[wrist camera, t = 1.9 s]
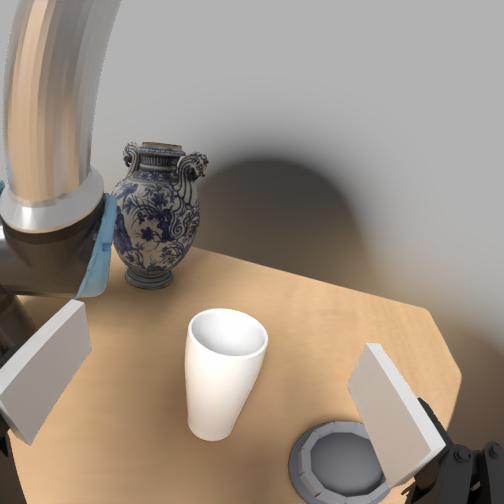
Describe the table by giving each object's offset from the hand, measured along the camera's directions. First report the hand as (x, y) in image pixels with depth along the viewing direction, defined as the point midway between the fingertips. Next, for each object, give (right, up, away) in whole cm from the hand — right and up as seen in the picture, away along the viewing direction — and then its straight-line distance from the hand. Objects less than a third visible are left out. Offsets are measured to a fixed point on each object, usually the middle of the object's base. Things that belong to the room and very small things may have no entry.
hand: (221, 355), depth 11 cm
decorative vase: (-21, -1, +45) cm, 49 cm away
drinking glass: (-4, -16, +15) cm, 22 cm away
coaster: (+12, -21, +11) cm, 26 cm away
